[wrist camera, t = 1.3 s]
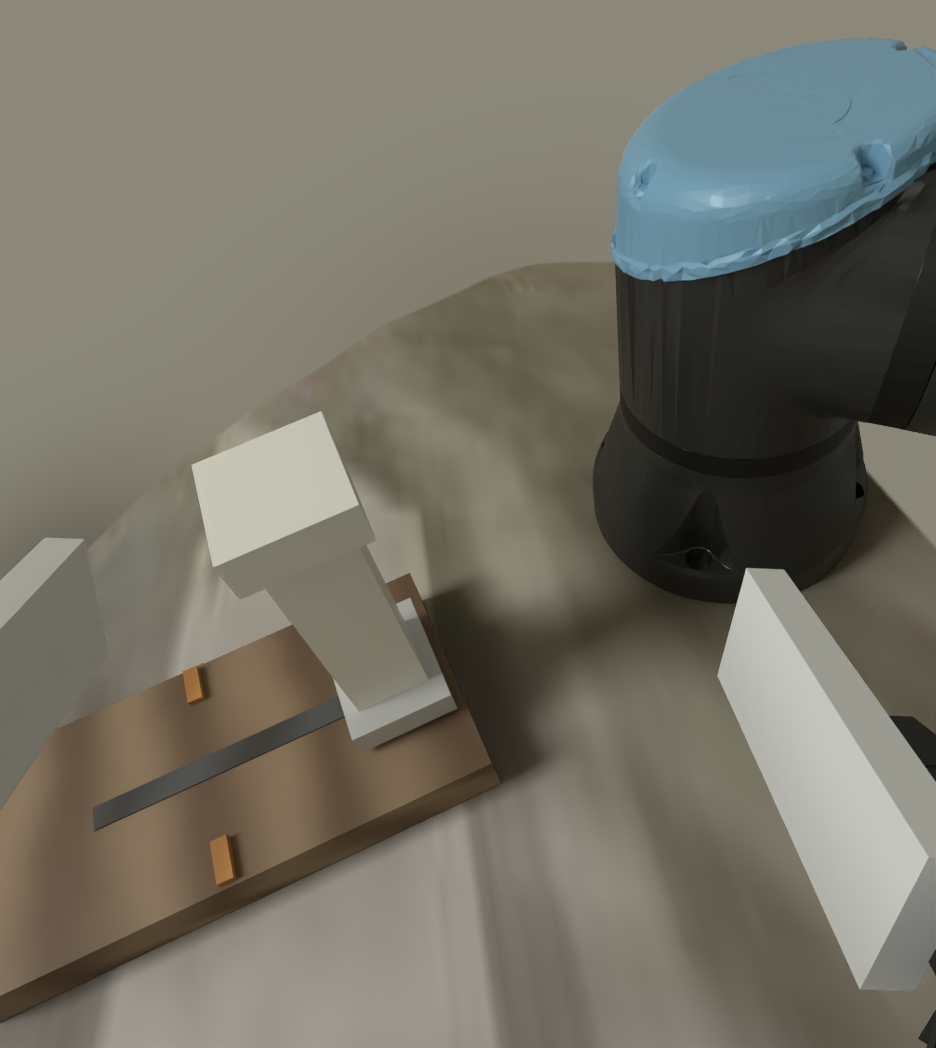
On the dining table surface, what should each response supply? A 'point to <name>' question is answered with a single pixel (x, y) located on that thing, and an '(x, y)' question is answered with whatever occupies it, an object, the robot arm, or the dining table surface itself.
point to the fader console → (206, 807)
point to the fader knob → (321, 573)
